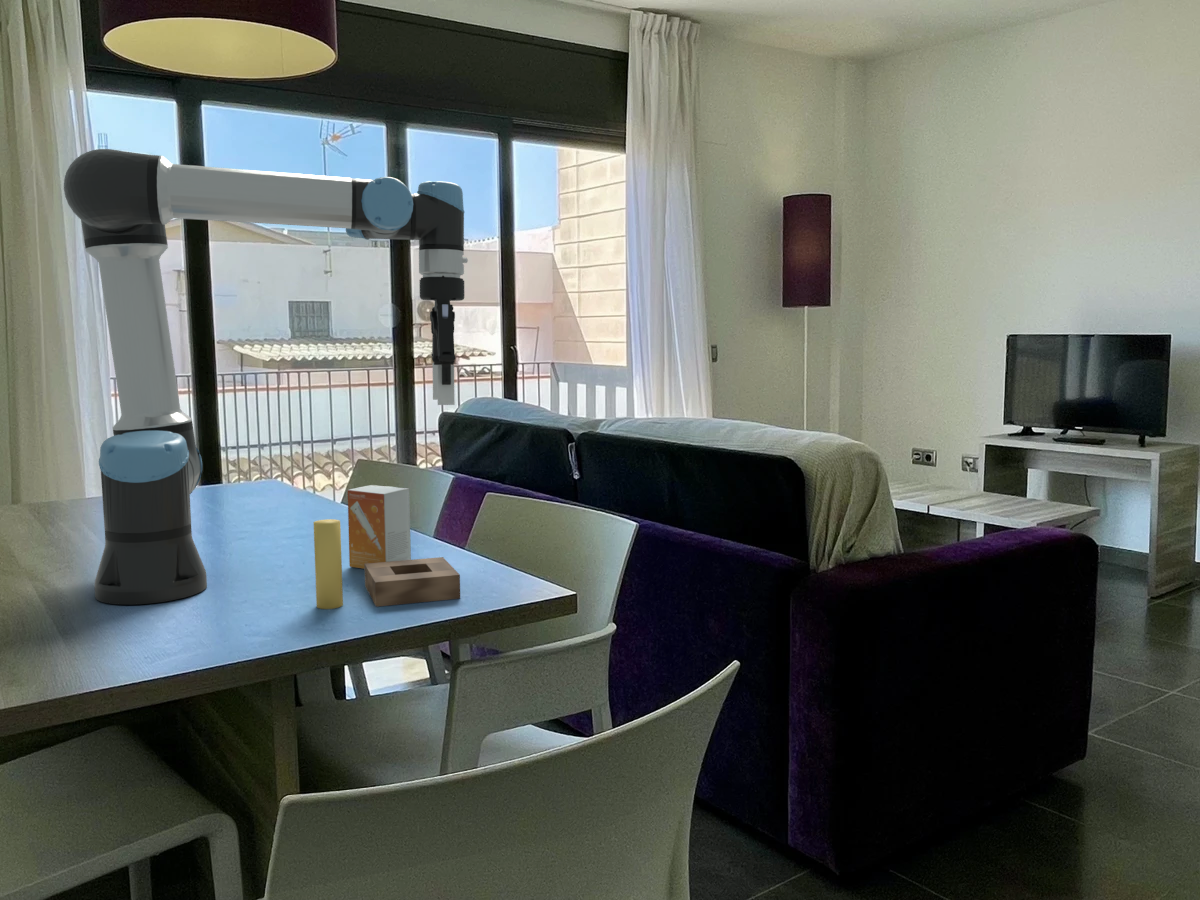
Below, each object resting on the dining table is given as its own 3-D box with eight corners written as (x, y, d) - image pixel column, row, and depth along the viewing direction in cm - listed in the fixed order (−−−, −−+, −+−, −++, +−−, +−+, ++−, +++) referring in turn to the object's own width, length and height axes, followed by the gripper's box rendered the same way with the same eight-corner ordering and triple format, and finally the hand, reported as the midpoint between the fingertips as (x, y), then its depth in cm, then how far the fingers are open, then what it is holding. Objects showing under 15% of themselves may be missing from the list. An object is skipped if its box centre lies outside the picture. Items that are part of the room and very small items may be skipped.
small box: (348, 567, 159) (346, 489, 158) (375, 560, 165) (373, 484, 163) (386, 573, 155) (384, 493, 154) (412, 565, 161) (410, 487, 159)
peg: (317, 610, 135) (314, 525, 133) (315, 603, 138) (312, 520, 137) (344, 607, 136) (341, 523, 135) (341, 601, 139) (338, 518, 138)
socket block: (376, 606, 136) (375, 582, 136) (365, 586, 148) (364, 563, 147) (460, 598, 141) (459, 574, 140) (443, 579, 152) (443, 557, 151)
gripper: (471, 272, 153) (472, 407, 156) (458, 281, 177) (459, 397, 180) (422, 271, 152) (424, 407, 154) (416, 280, 176) (417, 397, 178)
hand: (443, 402), depth 167 cm, fingers open, 13 cm apart
